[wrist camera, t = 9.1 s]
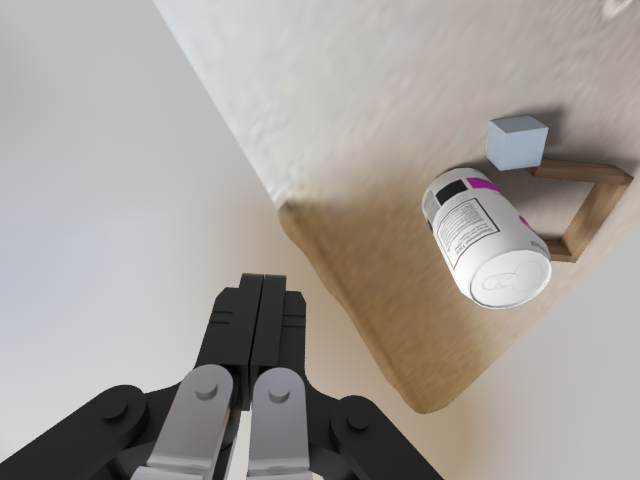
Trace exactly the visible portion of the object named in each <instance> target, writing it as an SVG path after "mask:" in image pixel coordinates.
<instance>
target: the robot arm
mask: <svg viewBox="0 0 640 480" xmlns="http://www.w3.org/2000/svg"><path fill="white" fill-rule="evenodd" d="M305 324H306V302H305V300H304V298H303V296H302V294H301V292H298V291H286V276H283V275H268V274H266V275H265V280H264V274H250V273H243V274H242V277H241V281H240V285H239V288H229V287H226V288H225V289H224V290H223V291H222V292H221V293H220V294H219V295H218V296H217V298H216V300H215V303H214V307H213V310H212V313H211V316H210V319H209V324H208V326H207V329H206V332H205V335H204V339H203V342H202V345H201V348H200V352H199V355H198V358H197V362H196V364H195V367H194V368H193V370H192V371H191V372H189V373H188V374H187V375H186V376H185V378H184V379H183V380H182V381H181V382H179V383H177V384H176V385H173V386H171V387H168V388H165V389H161V390H157V391H153V392H149V393H145V394H144V393H143V392H142V391H141V390H140V389H139V388H137V387H135V386H132V385H119V386H115V387H112V388H109V389H108V390H105V391H104V392H102V393H100V394H99V395H98V396H96V397H95V398H93V399H92V400H90V401H89V402H87V403H86V404H85V405H83V406H82V407H80V408H79V409H78V410H76V411H75V412H73V413H72V414H70V415H69V416H67V417H66V418H65V419H63V420H62V421H60V422H59V423H57V424H56V425H55V426H53V427H52V428H50V429H49V430H47V431H46V432H45V433H43V434H42V435H40V436H39V437H37V438H36V439H35V440H33V441H32V442H31V443H29V444H27V445H26V446H25V447H23V448H22V449H20V450H19V451H17V452H16V453H15V454H13V455H12V456H10V457H9V458H7V459H6V460H5V461H3V462H2V463H0V480H227V477H228V472H229V468H230V464H231V460H232V456H233V452H234V448H235V444H236V439H237V432H238V428H239V422H240V416H241V411H249V410H250V405H251V402H252V419H251V433H250V448H249V463H248V472H247V477H246V480H313V479H312V472H314V473H316V474H318V475H320V476H323V479H324V480H444V479H443V478H442V477H441V476H440V475H439V474H438V473H437V472H436V470H435V469H434V468H433V467H432V466H431V465H430V464H429V463H428V462H427V461H426V459H425V458H424V457H423V456H422V455H421V454H420V453H419V452H418V451H417V450H416V448H415V447H414V446H413V445H412V444H411V443H410V442H409V441H408V440H407V439H406V438H405V436H404V435H403V434H402V433H401V432H400V431H399V430H398V429H397V428H396V427H395V426H394V425H393V423H392V422H391V421H390V420H389V419H388V418H387V417H386V416H385V415H384V414H383V413H382V411H381V410H380V409H379V408H378V407H377V406H376V405H375V404H374V403H373V402H372V401H370V400H369V399H367V398H365V397H362V396H356V395H351V396H347V397H344V398H342V399H340V400H337V399H335V398H332V397H330V396H327V395H325V394H322V393H320V392H319V391H317V390H316V389H315V388H313V387H312V386H311V384H310V383H309V381H308V380H307V377H306V375H305V368H304V365H305V364H304V363H305V327H306V325H305Z"/></svg>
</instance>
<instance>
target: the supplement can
mask: <svg viewBox="0 0 640 480" xmlns="http://www.w3.org/2000/svg"><path fill="white" fill-rule="evenodd" d="M422 211H423V213H424V216H425V218H426V220H427V222H428V224H429V226H430V228H431V231H432V233H433V235H434V237H435V239H436V241H437V243H438V245H439V248H440V250H441V252H442V254H443V256H444V258H445V260H446V263H447V265H448V267H449V269H450V271H451V273H452V275H453V277H454V280H455V282H456V284H457V286H458V287H459V289H460V291H461V292H462V293H463V294H464V295H466V296H468V297H469V298H471V299H472V300H473V301H474V302H475V303H477V304H479V305H480V306H482V307H486V308H490V309H506V308H510V307H514V306H517V305H521V304H522V303H524V302H526V301H528V300H530V299H532V298H534V297H535V296H536V295H537V294H538V293H540V292H541V291H542V290H543V289H544V288H545V286H546V285H547V283H548V282H549V280H550V277H551V272H552V268H551V265H550V253H549V250H548V248H547V245H546V244H545V243H544V241H543V240H542V239H541V238H540V237H539V236H538V235H537V233H536V232H535V231H534V230H533V229H532V228H531V226H530V225H529V224H528V223H527V222H526V221H525V220H524V218H523V217H522V216H521V215H520V214H519V213H518V212H517V210H516V209H515V208H514V207H513V206H512V205H511V204H510V202H509V201H508V200H507V199H506V198H505V197H504V195H503V194H502V193H501V192H500V191H499V190H498V189H497V187H496V186H495V185H494V184H493V183H492V182H491V181H490V179H489V178H488V177H487V176H485V175H484V174H483V173H482V172H481V171H478V170H475V169H472V168H456V169H454V170H451V171H448V172H445V173H443V174H442V175H440V176H439V177H438V178H436V179H435V180H434V181H432V183H431V184H430V185H429V187H428V188H427V189H426V191H425V193H424V196H423V199H422Z"/></svg>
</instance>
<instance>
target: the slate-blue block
mask: <svg viewBox="0 0 640 480" xmlns="http://www.w3.org/2000/svg"><path fill="white" fill-rule="evenodd" d="M548 129H549V127H547V126H546V125H544V124H543V123H541V122H539V121H538V120H536V119H535V118H533V117H531V116H530V115H525V116H518V117H511V118H505V119H498V120H491V121H490V125H489V133H488V140H487V148H486V155H485V156H486V157H487V158H488V159H489V160H490V161H491V162H492V163H493V164H494V165H495V166H496V167H497V168H498V169H499V170H500V171H503V170H510V169H518V168H525V167H533V166H540V163H541V158H542V154H543V150H544V146H545V141H546V137H547V133H548Z"/></svg>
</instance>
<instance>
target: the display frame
mask: <svg viewBox="0 0 640 480" xmlns="http://www.w3.org/2000/svg"><path fill="white" fill-rule="evenodd" d="M525 169H526V170H527V171H528V172H530V173H531V174H532V175H533V176H537V177H546V178H556V179H566V180H575V181H585V182H595V183H596V184H595V186H594V187H593V189H592V190H591V192H590V193H589V195H588V197H587V198H586V200H585V201H584V203H583V205H582V206H581V208H580V209H579V211H578V213H577V214H576V216H575V217H574V219H573V221H572V222H571V224H570V225H569V227H568V228H567V230H566V232H565V233H564V235H563V236H562V238H561V240H560V241H559V242H555V241H544V240H543V241H544V243H545V244H546V245H547V248H548V250H549V253H550V261H562V262H573V263H576V261H577V260H578V258H579V257H580V255H581V254H582V252H583V251H584V250H585V248H586V247H587V245H588V244H589V242H590V241H591V239H592V238H593V237H594V235H595V234H596V232H597V231H598V229H599V228H600V226H601V225H602V224H603V222H604V221H605V219H606V218H607V216H608V215H609V213H610V212H611V211H612V209H613V208H614V206H615V205H616V203H617V202H618V200H619V199H620V198H621V196H622V195H623V193H624V192H625V190H626V189H627V187H628V186H629V184H630V183H631V182H632V180H633V179H634V177H632V176H630V175H629V174H627V173H626V172H624V171H622V170H621V169H619V168H618V167H616V166H610V165H600V164H591V163H582V162H573V161H563V160H554V159H545V158H541V163H540V166H533V167H525Z"/></svg>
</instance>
